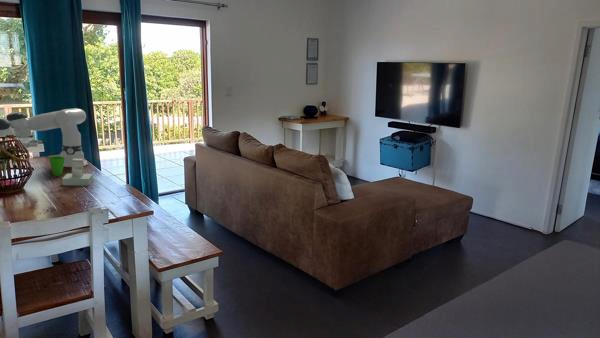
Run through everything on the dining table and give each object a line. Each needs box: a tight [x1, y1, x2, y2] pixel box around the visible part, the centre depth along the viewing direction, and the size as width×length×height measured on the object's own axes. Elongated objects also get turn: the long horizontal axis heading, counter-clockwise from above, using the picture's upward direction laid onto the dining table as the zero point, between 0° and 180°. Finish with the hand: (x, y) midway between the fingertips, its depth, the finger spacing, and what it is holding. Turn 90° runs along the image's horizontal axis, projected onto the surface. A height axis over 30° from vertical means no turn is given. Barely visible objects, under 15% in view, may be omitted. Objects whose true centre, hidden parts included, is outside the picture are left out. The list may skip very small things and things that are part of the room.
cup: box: [48, 155, 65, 177], centre depth 271 cm, size 9×9×11 cm
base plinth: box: [61, 173, 94, 187], centre depth 258 cm, size 13×14×4 cm
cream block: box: [71, 159, 84, 177], centre depth 257 cm, size 5×5×10 cm
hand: (39, 143), depth 250 cm, fingers open, 8 cm apart
